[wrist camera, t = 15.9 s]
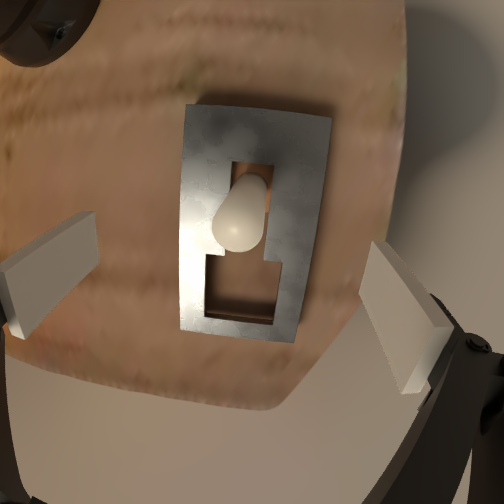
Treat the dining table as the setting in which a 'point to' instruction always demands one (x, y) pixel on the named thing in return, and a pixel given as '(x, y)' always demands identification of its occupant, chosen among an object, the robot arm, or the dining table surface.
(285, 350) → the dining table surface
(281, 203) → the keyhole plate
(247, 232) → the peg
